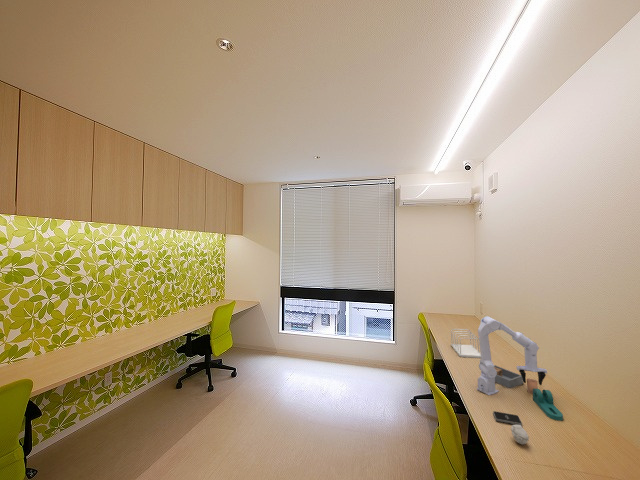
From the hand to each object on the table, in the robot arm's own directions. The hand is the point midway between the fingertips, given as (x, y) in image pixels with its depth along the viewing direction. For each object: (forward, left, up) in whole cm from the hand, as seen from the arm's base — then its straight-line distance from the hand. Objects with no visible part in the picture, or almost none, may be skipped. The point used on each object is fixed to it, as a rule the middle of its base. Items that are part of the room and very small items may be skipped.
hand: (532, 383), depth 158 cm
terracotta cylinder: (0, 0, -5) cm, 5 cm away
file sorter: (+21, +60, -6) cm, 64 cm away
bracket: (-12, -13, -6) cm, 19 cm away
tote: (-1, +17, -5) cm, 18 cm away
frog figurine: (-51, -21, -5) cm, 55 cm away
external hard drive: (-40, -9, -6) cm, 42 cm away
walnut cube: (-1, +21, -5) cm, 21 cm away
